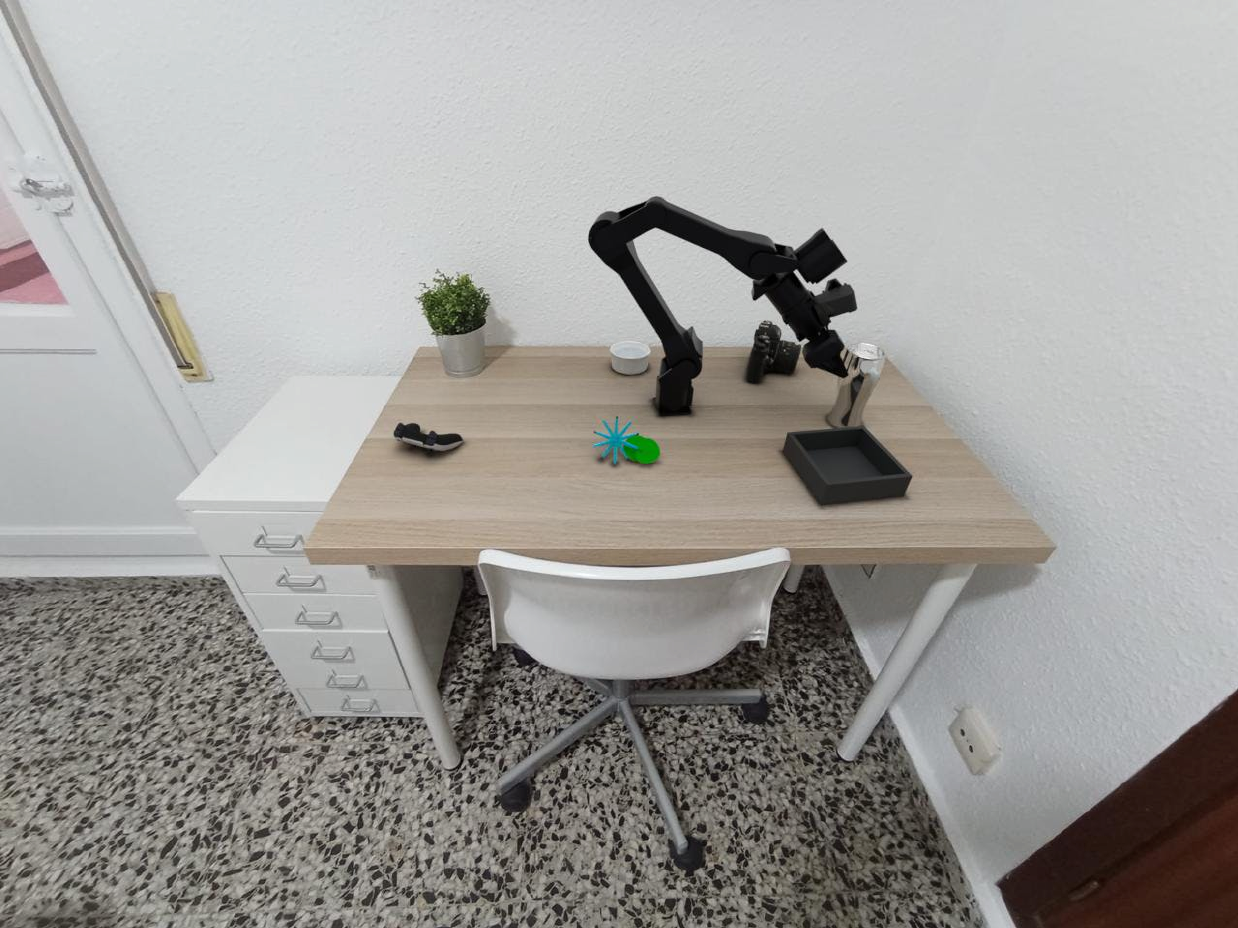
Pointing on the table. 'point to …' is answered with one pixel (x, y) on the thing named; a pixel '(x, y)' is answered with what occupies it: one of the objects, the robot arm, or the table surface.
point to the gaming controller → (426, 438)
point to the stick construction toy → (630, 445)
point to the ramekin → (629, 357)
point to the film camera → (771, 353)
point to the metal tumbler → (856, 384)
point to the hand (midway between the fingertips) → (840, 364)
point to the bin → (845, 465)
